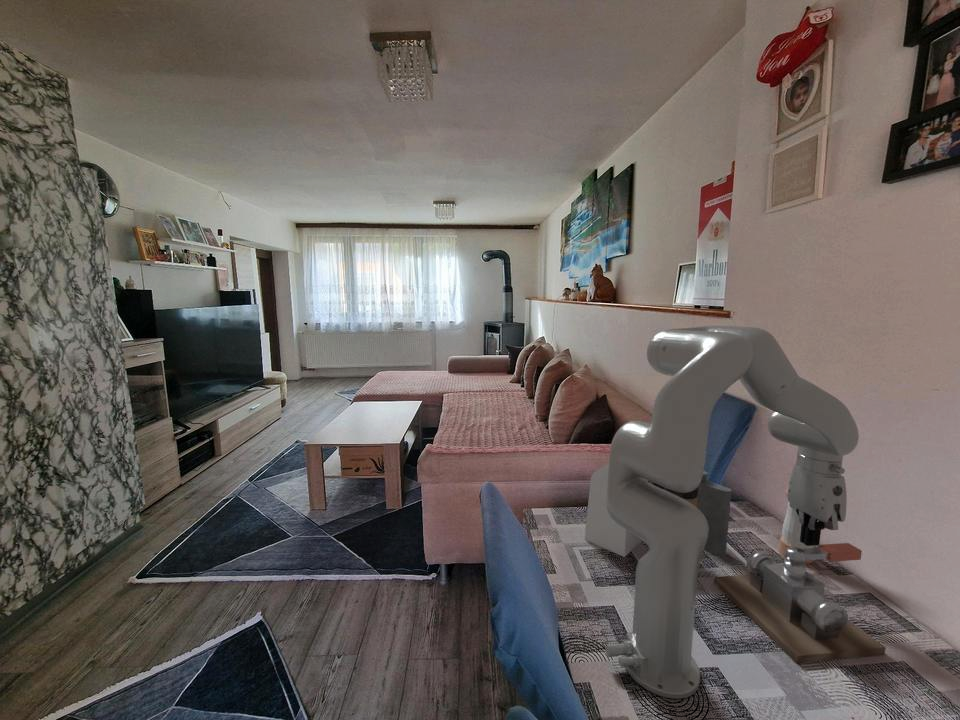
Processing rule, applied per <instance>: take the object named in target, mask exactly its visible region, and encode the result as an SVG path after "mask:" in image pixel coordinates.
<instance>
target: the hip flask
mask: <svg viewBox="0 0 960 720" xmlns="http://www.w3.org/2000/svg"><path fill="white" fill-rule="evenodd" d="M707 477H708V472H707V471H706V470H704V472H703V477H702V480H701V482H700V484H699V486H698V499H697V508H698V509H699V510H700V511H701V512H702V514H703V515H704V516H705V518H706V520H707V523H708V537H707V541H706V544H705V547H704V551H705V550H706V551H708V552H710V553H712V554H714V555H717V556H721V557H724V556H726V554H727V546H728V535H729V532H728V531H729V522H730V512H731V510H730V509H731V499H732V489H731V488H730V487H727V486H723V485H721V484H718V483H715V482H712V481H710V480H707Z"/></svg>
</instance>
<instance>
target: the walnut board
mask: <svg viewBox="0 0 960 720" xmlns="http://www.w3.org/2000/svg"><path fill="white" fill-rule="evenodd" d="M750 574H751V573H750ZM750 574H736V575H735V574H733V575H722V576H714V577H713V584H714V585H715V586H716V587H717V588H718V589H719V590H721V592H722V593H723V594H724V595H725V596H726V597H728V599H730V600H731V602H733V604H735V605H736V606H737V607H738V609H740V610H741V611H742V612H743V613H744V614H745V615H746V616H747V617H748V618H749V619H750V620H751V621H752V622H753V623H754V624H755V625H756V626H757V627H758V628H759V629H761V631H763V632H764V634H766V636H767V637H769V638H770V640H772V641H773V642H774V643H775V644H776V645H777V646H778V647H779V648H780V649H781V650H782V651H783V652H784V653H785V654H786V655H787V656H788V657H789V658H790V659H791V660H792V661H793V662H794V663H795V664H805V663H816V662H825V660H827V661H834V660H833V659H837V660H843V659H842V658H847V659H854V658H853V657H857V658H866V657H873V656H875V657H876V656H885V654H886V646H885V645H884V644H882V643H881V642H879V641H878V640H877V639H875V638H874V637H872V635H870V634H868V632H866V631H864V630H863V629H862V628H861V627H859V626H858V625H856V624H855V623H854V622H853V621H851V620H850V619H848V621H847V624H846V626H845V627H844V629H843V630H842V631H840V632H839V636H838V637H837V638H826V639H816V640H815V639H813V638H812V637H811V636H810V635H809V634H808V633H806V632H805V631H804V630H803V629H802V628H801V621H795V622H789V621H788V620H786V619H785V618H784V617H783V616H782V615H781V614H780V613H778V612H777V611H776V610H775V609H774V608H773V607H772V606H770V605H769V604H768V603H767V602H766V601H765V600H764V599H762V598H761V596H762V592H759V591H758V590H757V589H755V588H754V587H753V586H752V585H751V584H750Z"/></svg>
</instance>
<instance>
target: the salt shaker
mask: <svg viewBox="0 0 960 720" xmlns="http://www.w3.org/2000/svg"><path fill="white" fill-rule="evenodd" d="M785 494H786V497H787V498H788V487H786V489H785ZM786 510H787V511H786V515H785V518H784V520H783V524H782V532H781V533H782V534H781V536H780V538H779V545H778V551H779V553H780V555H782V556H783V557H784V558H786V549H787V547H796V548H799V549H808V548H816V546H806V545H805V544H804V543H802V542H800V534H801V525H802V524H800V522H799V516H798V514H797V512H796V511H795V510H794V509H792V508H791V507H790V503H789V501H788V500H787V509H786ZM814 561H815V560H806V561H805V563H804V564H813V562H814Z"/></svg>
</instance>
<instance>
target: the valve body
mask: <svg viewBox="0 0 960 720" xmlns="http://www.w3.org/2000/svg"><path fill="white" fill-rule="evenodd" d="M746 568H747V569H748V570H749V571H750V584H751V585H752V586H753V587H754V588H755V589H757V590H758V591H759V592H762V596H761V598H762V599H764V600H765V601H766V602H767V603H768V604H769V605H770V606H772V607H773V608H774V609H775V610H776V611H777V612H778V613H780V614H781V615H782V616H783V617H784V618H785V619H786V620H788V621H789V622H795V621H801V628H802V629H803V630H804V631H805V632H806V633H808V634H809V635H810V636H811V637H812V638H813V639H815V640H816V639H826V638H837V637H838V636H839V632H840V631H842V630H843V629H844V627H845V626H846V624H847V621H848V620H849V615H848V613H847V612H848V611H846V609H844V608H843V607H842V606H840V605H839V604H838V603H837V602H835V601H834V600H832V599H829V598H825V597H824V595H825V588H826V585H825V583H823V582H822V581H820V580H819V579H817V578H816V577H815V576H814V575H812V574H810V573H809V572H808V571H806V570H807V565H806V563H804V564H800V565H797V564H794V563H792V562H790V560H788V559H787V558H786V557H784V559H783V563H777V561H776V559H775V557H774V556H771V555H770V554H769V553H767V551H765V550H761V549H758V550H755V551H753V552H751V553H750V554H749V556H747V559H746Z"/></svg>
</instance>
